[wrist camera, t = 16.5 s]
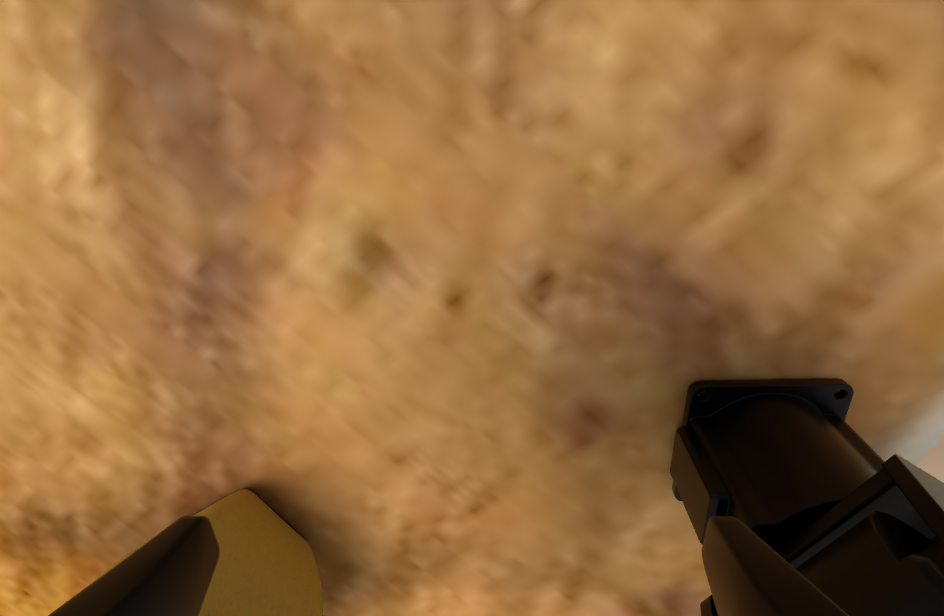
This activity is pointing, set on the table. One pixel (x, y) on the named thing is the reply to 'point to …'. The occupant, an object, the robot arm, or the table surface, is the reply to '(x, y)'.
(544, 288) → the table surface
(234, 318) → the table surface
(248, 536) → the flower pot
